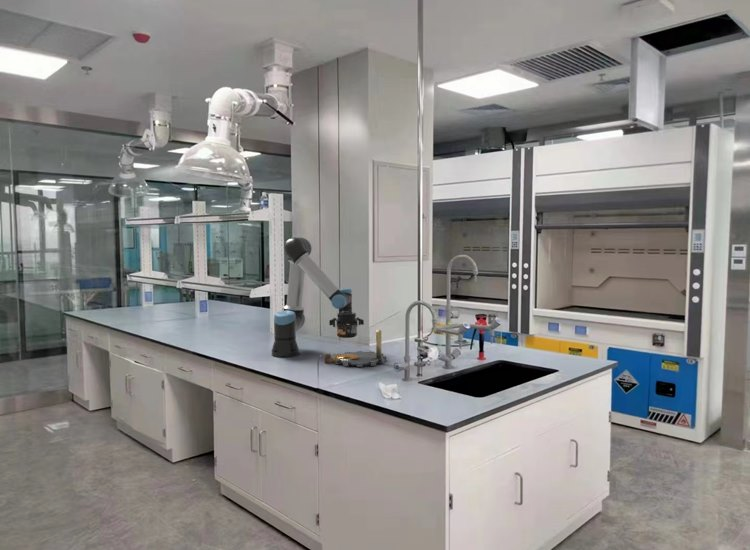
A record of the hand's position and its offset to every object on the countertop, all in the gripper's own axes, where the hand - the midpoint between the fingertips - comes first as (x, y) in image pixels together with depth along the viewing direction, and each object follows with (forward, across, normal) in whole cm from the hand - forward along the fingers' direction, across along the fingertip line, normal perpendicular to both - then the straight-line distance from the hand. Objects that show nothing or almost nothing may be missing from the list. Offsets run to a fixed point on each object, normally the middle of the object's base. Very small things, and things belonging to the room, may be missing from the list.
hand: (347, 324), depth 263 cm
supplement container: (-4, 0, -7) cm, 8 cm away
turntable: (-4, -6, -20) cm, 21 cm away
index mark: (-4, +10, -20) cm, 23 cm away
